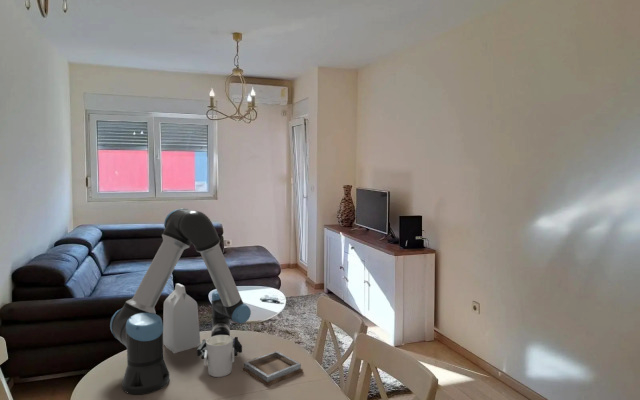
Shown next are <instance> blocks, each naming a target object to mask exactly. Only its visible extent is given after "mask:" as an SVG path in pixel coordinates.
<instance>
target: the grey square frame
mask: <svg viewBox="0 0 640 400" xmlns="http://www.w3.org/2000/svg"><path fill="white" fill-rule="evenodd" d="M275 357H277V358H278V359H280V360H282V361H284V362H286V363H287V364H289V365H291V366H290V367H287V368H285V369H282V370H280V371H277V372H275V373H272V374H270V375H267V374H265V373H264V372H262V371H261V370H259V369H257V368H256V367H254V365H256V364H259V363H262V362H265V361H267V360H270V359H273V358H275ZM243 367H244V368H245V369H247V370H249V371H250V372H252V373H253V374H255V375H256V376H258V377H259V378H261V379H262V380H264V381H266V382H267V383H268V382H270V381H273V380H275V379H278V378H280V377H282V376H285V375H287V374H290V373H292V372H295V371H297V370H299V369H301V368H302V364H301V363H300V362H298V361H296V360H295V359H292V358H291V357H289V356H287V355H286V354H284V353H282V352H280V351H278V350H276V351H275V350H274V351H273V352H269V353H265V354H263V355H260V356H257V357H255V358H252V359H250V360H246V361H244V362H243Z"/></svg>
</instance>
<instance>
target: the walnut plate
mask: <svg viewBox="0 0 640 400" xmlns="http://www.w3.org/2000/svg"><path fill="white" fill-rule="evenodd" d="M290 366H291V365H289V364H287V363H286V362H284V361H282V360H280V359H278V358H277V357H275V358H273V359H270V360H267V361H265V362H262V363H259V364H256V365H254V367H256V368H257V369H259V370H261V371H262V372H264V373H265V374H267V375H270V374H272V373H275V372H277V371H280V370H282V369H285V368H287V367H290ZM241 370H242V371H243V373H246V374H247V375H249V376H250V377H252V378H253V379H255V380H256V381H257V382H260V383H261V384H263V385H264V386H265V387H270V386H272V385H274V384H276V383H279V382H281V381H283V380H287V379H288V378H291V377H293V376H295V375H298V374H301V373H303V372H304V371H303V370H304V369H303V368H302V367H301V369H299V370H297V371H295V372H292V373H290V374H287V375H285V376H282V377H280V378H278V379H275V380H273V381H270V382H268V383H267V382H266V381H264V380H262V379H261V378H259V377H258V376H256V375H255V374H253V373H252V372H250V371H249V370H247V369H245V368H244V366H242V368H241Z"/></svg>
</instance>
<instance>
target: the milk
mask: <svg viewBox="0 0 640 400" xmlns="http://www.w3.org/2000/svg"><path fill="white" fill-rule="evenodd" d="M162 317H163V318H162V319H163V320H162V324H163V346H164V345H165V346H164V347H166V348H167V349H168V350H169V351H170V352H172V353H173V354H177V353H179V352H180V353H181V352H185V351H187V350H191V349H193V348H198V347H199V346H200V345H201V333H200V322H199V321H200V320H199V308H198V302H197V300H195V299H194V298H193V297H191V296H190V295H189V294H187V292H186V286H185V285H183V284H181V283H175V287H174V290H173V291H172V292H171V293H170V294H169V295H168V296H167V297H166V298H165V300H164V301H163V315H162Z"/></svg>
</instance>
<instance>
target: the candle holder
mask: <svg viewBox="0 0 640 400" xmlns="http://www.w3.org/2000/svg"><path fill="white" fill-rule="evenodd" d="M233 339H234V337H233V336H231V335H230V336H228V335H216V336H212V337H211V336H210V337H208V338H207V339H205V340H206V348H207V370H208V375H209V376H211V377H214V378H221V377H225V376H228V375H229V374H231V373H232V370H233V362H232V351H233Z"/></svg>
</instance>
